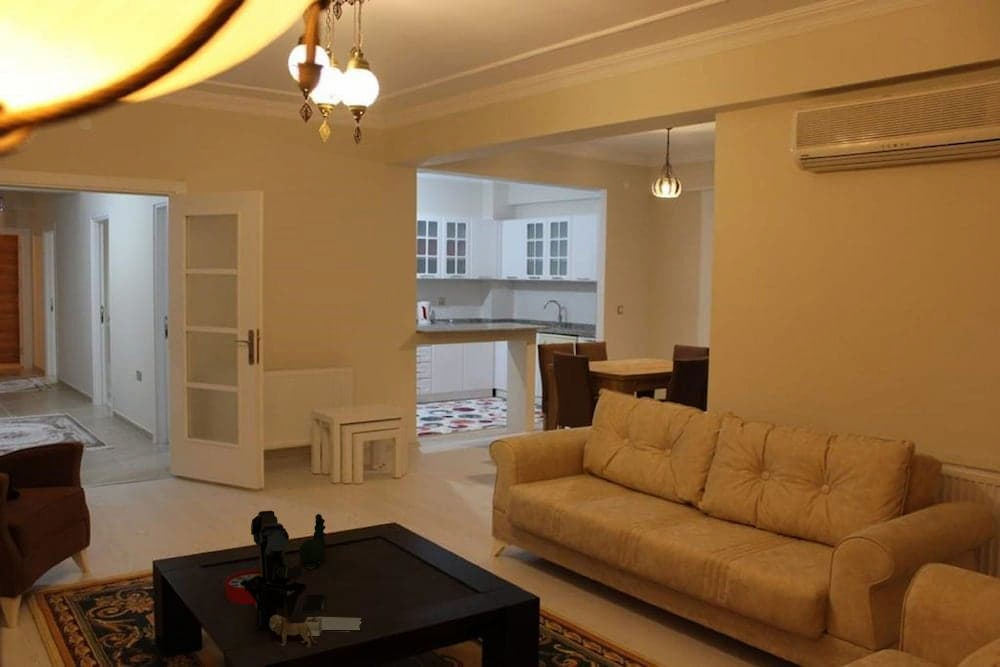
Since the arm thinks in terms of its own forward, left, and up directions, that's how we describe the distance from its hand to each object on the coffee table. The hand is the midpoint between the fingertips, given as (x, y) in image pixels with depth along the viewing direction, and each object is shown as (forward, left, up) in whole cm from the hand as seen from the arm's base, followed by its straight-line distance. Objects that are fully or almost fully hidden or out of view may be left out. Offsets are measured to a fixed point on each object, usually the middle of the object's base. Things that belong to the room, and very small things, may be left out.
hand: (277, 614), depth 255 cm
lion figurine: (-7, +3, -12) cm, 14 cm away
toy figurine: (-83, -7, -12) cm, 84 cm away
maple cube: (-16, +7, -12) cm, 21 cm away
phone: (-40, +2, -13) cm, 42 cm away
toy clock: (-48, -20, -12) cm, 54 cm away
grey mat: (-23, +14, -12) cm, 30 cm away
